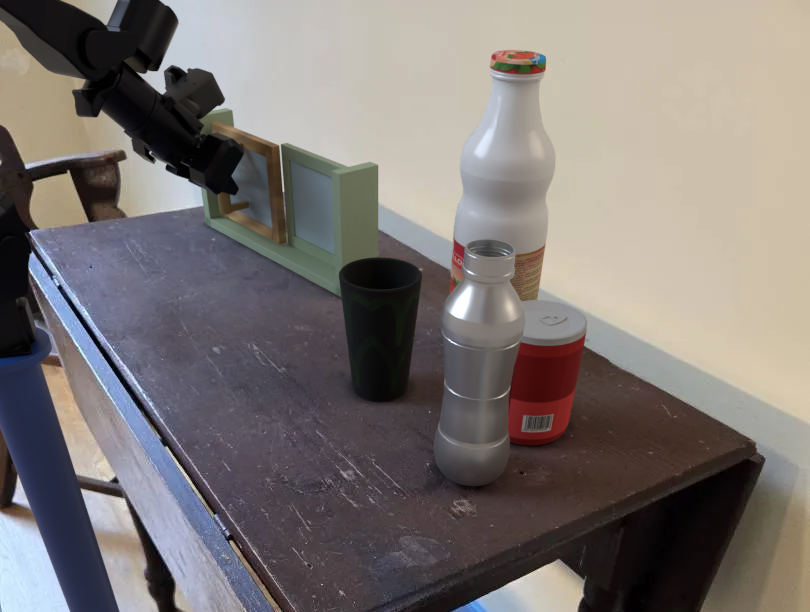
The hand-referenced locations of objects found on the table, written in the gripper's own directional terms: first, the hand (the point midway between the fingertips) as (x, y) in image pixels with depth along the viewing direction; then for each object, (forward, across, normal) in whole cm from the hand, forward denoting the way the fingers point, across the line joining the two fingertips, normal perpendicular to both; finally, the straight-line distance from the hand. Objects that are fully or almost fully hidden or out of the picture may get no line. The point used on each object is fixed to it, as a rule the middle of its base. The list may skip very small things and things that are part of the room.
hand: (232, 190), depth 102 cm
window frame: (+7, -7, +3) cm, 10 cm away
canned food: (+3, -56, +8) cm, 56 cm away
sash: (+4, 0, +4) cm, 6 cm away
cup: (-2, -41, +12) cm, 43 cm away
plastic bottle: (-4, -58, +15) cm, 59 cm away
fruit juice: (+9, -42, +1) cm, 43 cm away
